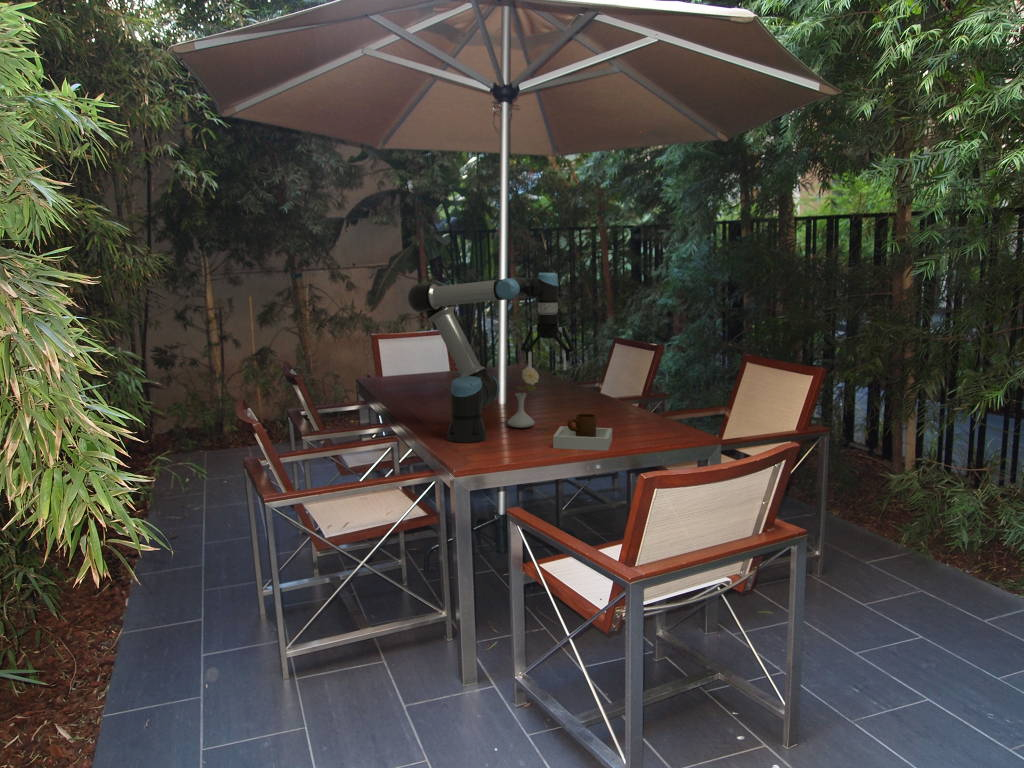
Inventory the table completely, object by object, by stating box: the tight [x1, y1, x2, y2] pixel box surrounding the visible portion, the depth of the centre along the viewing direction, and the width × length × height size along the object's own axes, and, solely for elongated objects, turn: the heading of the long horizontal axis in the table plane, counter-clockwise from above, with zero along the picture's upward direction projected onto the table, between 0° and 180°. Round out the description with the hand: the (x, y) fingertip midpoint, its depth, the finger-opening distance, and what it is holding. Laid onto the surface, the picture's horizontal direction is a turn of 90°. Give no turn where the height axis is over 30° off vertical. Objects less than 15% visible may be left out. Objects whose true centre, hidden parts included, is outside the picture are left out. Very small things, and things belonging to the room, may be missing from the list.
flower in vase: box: [507, 366, 540, 429], centre depth 330 cm, size 13×11×25 cm
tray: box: [552, 425, 613, 452], centre depth 300 cm, size 20×18×4 cm
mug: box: [566, 413, 597, 437], centre depth 300 cm, size 12×8×9 cm, turn 120°
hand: (547, 369), depth 307 cm, fingers open, 13 cm apart
